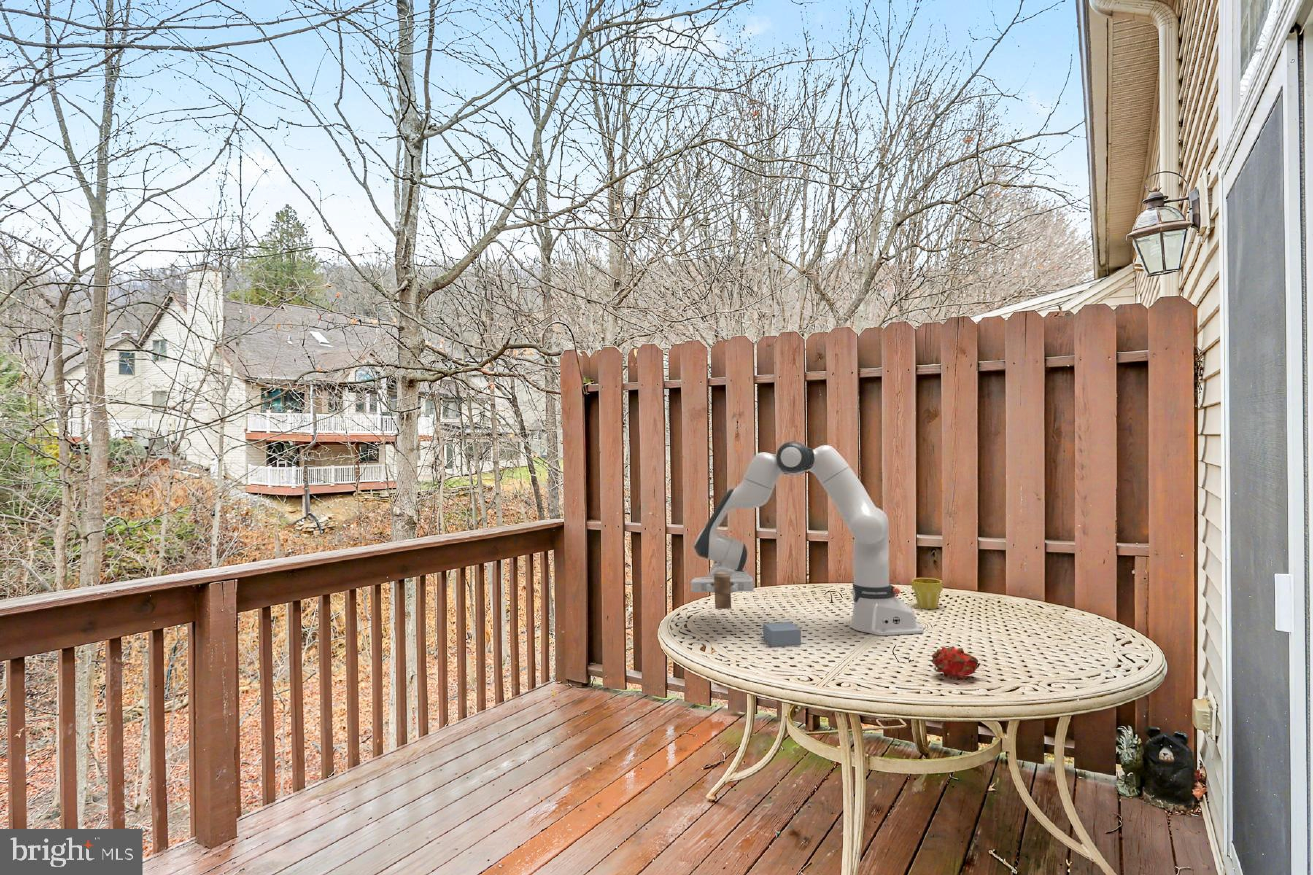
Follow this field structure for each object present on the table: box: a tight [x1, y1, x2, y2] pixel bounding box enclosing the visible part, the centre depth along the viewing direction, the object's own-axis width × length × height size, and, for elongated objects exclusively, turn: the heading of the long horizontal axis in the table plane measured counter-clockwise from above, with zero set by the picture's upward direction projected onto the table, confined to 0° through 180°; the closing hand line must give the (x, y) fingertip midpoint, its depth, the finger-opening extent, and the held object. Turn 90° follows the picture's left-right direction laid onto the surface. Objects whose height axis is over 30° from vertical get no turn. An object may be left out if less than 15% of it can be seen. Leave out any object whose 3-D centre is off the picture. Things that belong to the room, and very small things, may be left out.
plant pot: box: [911, 577, 943, 610], centre depth 234 cm, size 10×10×10 cm
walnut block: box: [714, 573, 732, 610], centre depth 202 cm, size 5×5×10 cm
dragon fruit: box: [931, 645, 981, 681], centre depth 164 cm, size 8×8×12 cm
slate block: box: [762, 621, 802, 648], centre depth 197 cm, size 9×9×5 cm
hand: (722, 589), depth 201 cm, fingers closed on walnut block, 5 cm apart
